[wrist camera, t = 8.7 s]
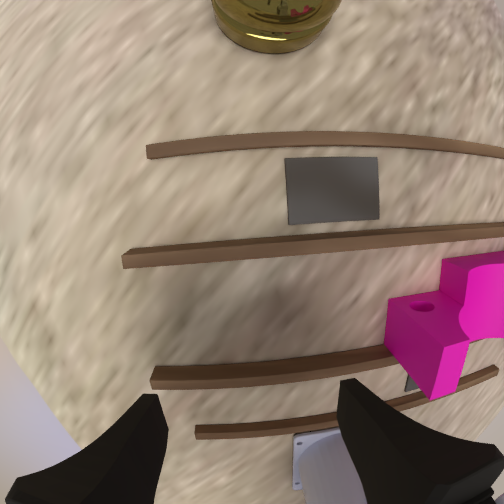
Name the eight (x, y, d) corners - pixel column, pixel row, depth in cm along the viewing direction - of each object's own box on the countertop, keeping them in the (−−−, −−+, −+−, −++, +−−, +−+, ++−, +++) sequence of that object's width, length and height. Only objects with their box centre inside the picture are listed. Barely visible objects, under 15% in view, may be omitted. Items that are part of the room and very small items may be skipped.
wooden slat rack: (496, 368, 23) (517, 386, 19) (174, 431, 22) (167, 465, 19) (525, 154, 18) (555, 155, 14) (120, 151, 17) (93, 146, 13)
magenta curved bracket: (517, 248, 20) (574, 269, 13) (507, 310, 22) (557, 341, 15) (389, 264, 20) (452, 303, 13) (382, 342, 21) (429, 400, 14)
